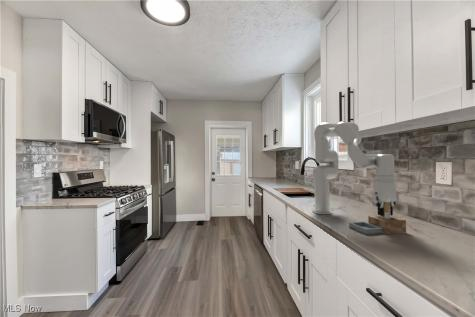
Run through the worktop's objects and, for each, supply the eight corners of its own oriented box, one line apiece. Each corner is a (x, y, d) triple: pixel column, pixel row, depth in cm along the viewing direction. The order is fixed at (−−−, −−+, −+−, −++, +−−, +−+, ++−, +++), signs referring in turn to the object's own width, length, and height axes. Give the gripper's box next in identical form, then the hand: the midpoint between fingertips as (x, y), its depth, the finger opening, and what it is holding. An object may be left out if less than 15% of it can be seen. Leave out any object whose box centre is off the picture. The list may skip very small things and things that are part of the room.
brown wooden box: (368, 227, 114) (368, 215, 114) (386, 226, 116) (386, 214, 116) (386, 234, 103) (386, 221, 104) (406, 232, 105) (405, 220, 106)
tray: (349, 227, 115) (348, 222, 115) (364, 226, 117) (364, 221, 117) (366, 234, 103) (366, 229, 103) (382, 233, 105) (382, 228, 105)
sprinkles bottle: (390, 226, 107) (390, 198, 107) (379, 224, 110) (379, 197, 110) (391, 224, 111) (391, 197, 111) (380, 222, 114) (380, 196, 114)
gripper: (392, 177, 115) (392, 212, 116) (364, 178, 112) (364, 214, 113) (406, 179, 108) (406, 216, 108) (376, 179, 105) (376, 218, 105)
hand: (385, 214), depth 110 cm, fingers closed on sprinkles bottle, 4 cm apart
